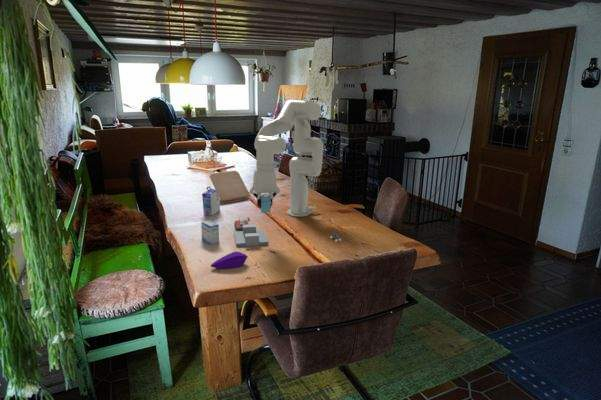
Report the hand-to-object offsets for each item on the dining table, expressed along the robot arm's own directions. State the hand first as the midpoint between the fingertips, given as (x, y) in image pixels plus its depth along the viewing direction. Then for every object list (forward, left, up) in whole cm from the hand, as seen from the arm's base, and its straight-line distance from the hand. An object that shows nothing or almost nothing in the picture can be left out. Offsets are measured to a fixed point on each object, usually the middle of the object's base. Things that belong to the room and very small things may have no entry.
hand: (264, 206), depth 181 cm
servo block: (0, 0, -2) cm, 2 cm away
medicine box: (+24, -1, -16) cm, 29 cm away
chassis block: (+6, 0, -16) cm, 17 cm away
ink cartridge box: (+23, -42, -16) cm, 51 cm away
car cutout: (-33, +10, -16) cm, 38 cm away
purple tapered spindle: (+17, +26, -16) cm, 35 cm away
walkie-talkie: (+8, -18, -16) cm, 25 cm away
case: (+13, -70, -16) cm, 73 cm away
